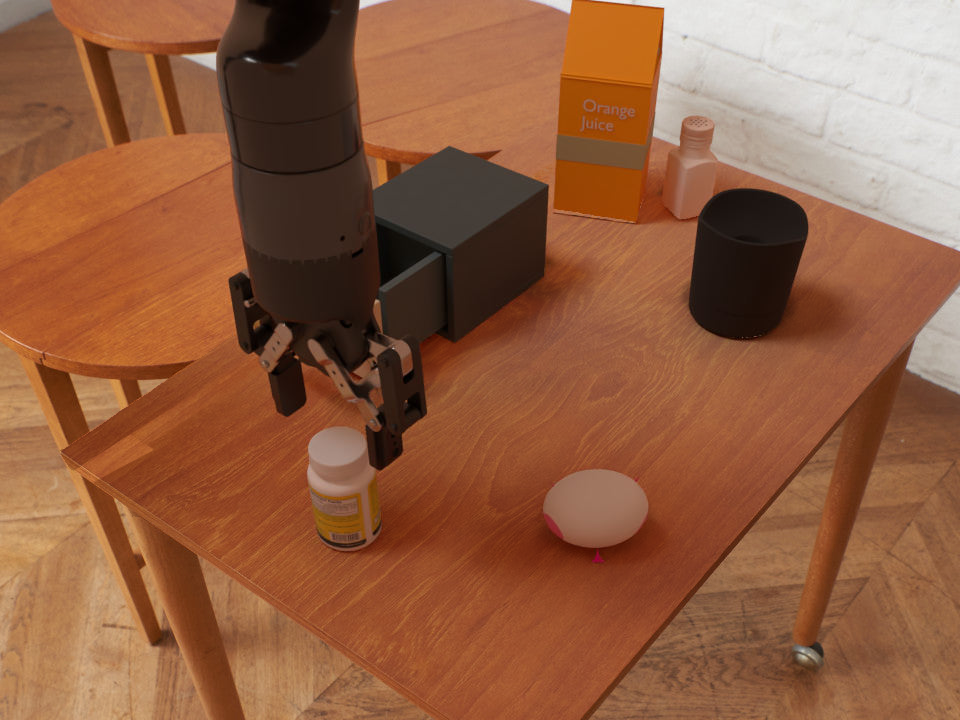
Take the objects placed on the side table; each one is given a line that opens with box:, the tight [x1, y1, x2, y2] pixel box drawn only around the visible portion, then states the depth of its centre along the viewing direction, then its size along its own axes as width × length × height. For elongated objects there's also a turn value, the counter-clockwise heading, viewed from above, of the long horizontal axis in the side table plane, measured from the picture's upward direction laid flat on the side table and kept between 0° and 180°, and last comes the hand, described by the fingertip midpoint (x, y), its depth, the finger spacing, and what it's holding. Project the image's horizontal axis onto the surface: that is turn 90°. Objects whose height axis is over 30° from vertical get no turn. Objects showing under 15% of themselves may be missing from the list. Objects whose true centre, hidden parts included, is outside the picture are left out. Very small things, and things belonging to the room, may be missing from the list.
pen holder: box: [688, 187, 810, 339], centre depth 93 cm, size 9×9×10 cm
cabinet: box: [373, 145, 550, 344], centre depth 96 cm, size 14×12×10 cm
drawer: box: [253, 223, 448, 379], centre depth 89 cm, size 17×10×8 cm, turn 143°
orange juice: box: [553, 0, 665, 222], centre depth 103 cm, size 8×9×20 cm
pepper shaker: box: [661, 115, 719, 220], centre depth 106 cm, size 4×4×10 cm
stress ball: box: [542, 468, 649, 564], centre depth 76 cm, size 8×8×7 cm
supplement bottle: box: [306, 425, 383, 552], centre depth 74 cm, size 5×5×8 cm
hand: (338, 435), depth 70 cm, fingers open, 8 cm apart
